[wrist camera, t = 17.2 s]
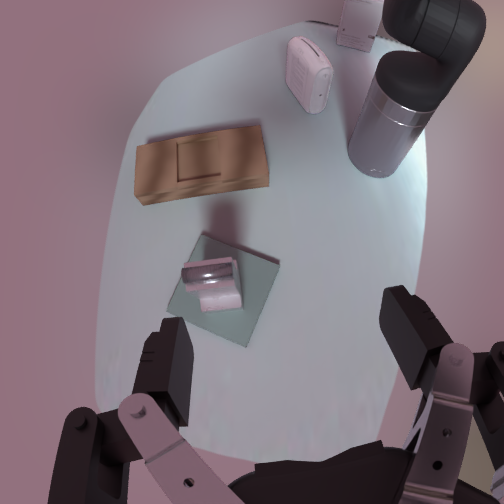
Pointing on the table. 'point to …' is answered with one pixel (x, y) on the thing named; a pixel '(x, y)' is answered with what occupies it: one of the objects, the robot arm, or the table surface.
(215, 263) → the lever cap
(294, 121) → the table surface
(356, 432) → the table surface
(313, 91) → the photo printer
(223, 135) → the body
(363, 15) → the skincare box
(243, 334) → the rubber mat
